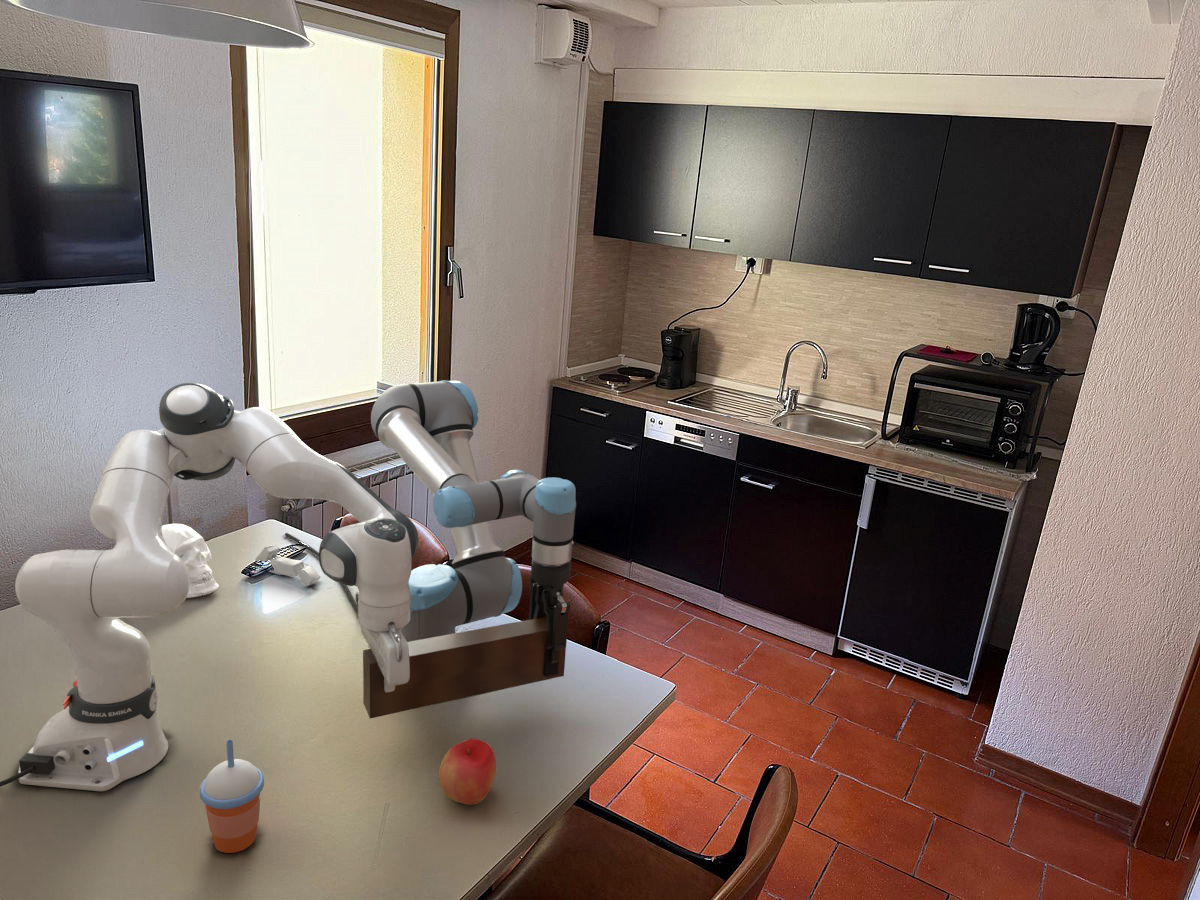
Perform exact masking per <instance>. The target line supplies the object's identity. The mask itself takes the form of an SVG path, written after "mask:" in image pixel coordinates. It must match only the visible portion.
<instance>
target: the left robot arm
mask: <svg viewBox="0 0 1200 900" xmlns="http://www.w3.org/2000/svg"><path fill="white" fill-rule="evenodd" d="M158 414H159V420H160V423H161V425H162V428H160V429H158V430H150V429H135V430H130V431H129V432H127V433H126V434H124V435H123V436H122V437H121V438H120V439H119V441H118V442H117V444H116V446H115V447H114V448H113V450H112V452H111V454H110V456H109V458H108V460H107V462H106V465H105V466H104V469H103V471H102V474H101V478H100V479H99V482H98V486H97V489H96V491H95V494H94V498H93V500H92V504H91V507H90V509H89V518H90V522H91V524H92V526H93V528H94V529H95V530H96V531H97V532H98V533H100V534H101V535H102V536H103V537H105V538H106V539H108V540H111V541H113V542H115V545H114V546H113V547H112V548H111V549H60V550H53V551H48V552H42V553H37V554H34V555H32V556H30V557H29V558H28V559H27V560H26V561H25V562H24V563H23V564H22V566H21V567H20V569H19V570H18V572H17V575H16V577H15V584H14V589H15V595H16V598H17V601H18V602H19V604H20V605H21V607H22V608H23V609H24V610H25V611H26V612H28V613H29V614H32V615H34V616H36V617H38V618H39V619H40V620H42V621H43V622H45V623H46V624H47V625H49V626H50V627H51V628H52V629H53V631H54V632H56V633H57V634H58V636H59V637H60V638H61V640H62V641H63V642H64V644H65V645H66V647H67V649H68V651H69V653H70V655H71V658H72V659H71V660H72V662H73V667H74V672H75V673H74V674H75V680H74V681H73V683H72V688H71V689H70V690H69V691H68V692H67V694H66V695H67V696H66V698H65V699H64V701H63V703H62V706H63V708H62V709H61V710H60V711H58V712H56V713H55V714H54V715H52V716H51V717H50V718H49V719H48V720H47V722H46V723H45V724H44V725H43V726H42V728H41V729H40V730H39V732H38V734H37V736H36V738H35V740H34V744H33V745H32V747H31V748H30V750H28V751H27V752H26V753H25V754H24V755H23V756H22V757H21V758H20V759H19V761H18V763H19V768H18V771H17V773H16V774H15V775H12V776H10V777H8V778H6V779H3V780H1V781H0V787H3V786H7V785H9V784H11V783H12V782H15V781H17V780H18V782H19V784H21V785H28V786H38V787H49V788H60V789H68V790H69V789H70V790H80V791H92V792H107V791H109V790H111V789H112V788H115V787H116V786H118V785H119V784H121V783H122V782H124V781H127V780H130V779H132V778H135V777H136V776H139V775H142V774H144V773H145V772H147V771H150V770H151V769H152V768H153V767H155V766H156V765H158V764H159V763H160V762H161V761H162V760H163V759H164V758H165V756H166V754H167V752H168V750H169V741H168V739H167V738H166V736H165V734H164V731H163V728H162V725H161V722H160V719H159V714H158V712H157V708H158V690H157V686H156V680H155V676H154V675H153V674H152V664H151V654H150V653H151V652H150V644H149V641H148V639H147V637H146V636H145V635H144V633H143V632H142V631H140V630H139V629H138V628H136V627H134V626H132V625H130V624H128V623H126V622H124V621H123V620H122V619H120V618H148V617H154V616H155V617H156V616H160V615H161V616H162V615H165V614H170V613H174V612H175V611H177V610H178V609H179V608H180V607H181V606H182V605H183V604H184V602H185V601H186V599H187V598H186V597H187V595H188V592H189V589H190V574H189V570H188V568H187V566H186V564H185V563H184V561H183V560H182V559H181V558H180V557H179V556H177V555H176V554H175V553H173V552H172V551H171V550H170V549H169V547H168V546H167V544H166V543H165V541H164V538H163V534H162V526H163V521H164V520H163V519H164V515H165V510H166V506H167V502H168V498H169V494H170V491H171V487H172V482H173V480H174V477H176V478H178V479H180V480H182V481H190V480H193V481H212V480H216V479H219V478H221V477H224V476H225V475H227V474H228V473H229V472H230V471H231V470H232V469H233V467H234V465H235V463H236V460H237V461H238V462H239V463H240V464H241V465H242V466H243V468H244V469H245V470H246V471H247V473H248V474H249V475H250V477H251V478H252V480H253V481H254V482H255V483H256V484H257V486H259V488H261V489H262V490H263V491H264V492H266V493H267V494H268V495H271V496H273V497H276V498H279V499H287V500H294V499H297V500H298V499H312V500H313V499H316V500H324V501H330V502H333V503H336V504H337V505H340V506H341V507H342V508H343V509H344V510H346V511H347V512H348V513H349V514H350V515H351V516H352V517H354V518H355V519H356V520H357V521H358V522H356V523H352V524H349V525H346V526H342V527H339V528H336V529H333V530H331V531H330V532H327V533H326V534H324V536H323V537H322V539H321V541H320V544H319V549H318V553H319V557H318V562H319V566H320V569H321V572H322V573H323V574H324V575H325V576H327V578H329V579H330V580H332V581H334V582H337V583H339V584H341V585H342V584H344V585H347V587H354V586H355V587H356V588H357V589H358V590H356V591H355V602H356V604H357V606H358V614H357V617H358V618H357V619H358V621H357V622H358V624H359V625H360V630H361V634H362V636H363V637H364V639H365V641H366V643H367V646H368V649H371V650H372V652H373V654H374V656H375V658H376V660H377V662H378V666H379V668H380V670H381V672H382V674H383V676H384V680H383V688H384V690H385V692H392V691H394V690H395V686H396V685H401V684H405V683H407V682H408V681H409V678H410V664H409V649H408V644H407V641H406V639H405V637H404V635H403V634H402V632H401V630H402V629H403V627H404V626H406V625H407V624H408V623H409V621H410V615H411V591H410V587H409V579H410V576H411V571H412V561H413V559H414V557H415V555H416V553H417V550H418V546H419V539H420V537H419V531H418V529H417V526H416V525H415V524H414V522H413V521H412V519H410V518H409V517H408V516H407V515H406V514H404V513H403V512H401V511H400V510H398V509H396V508H394V507H393V506H391V505H389V504H388V502H386V501H385V500H383V499H382V498H381V497H380V496H379V495H378V494H377V493H376V492H374V491H373V490H372V489H371V488H370V487H369V486H368V485H366V484H365V483H364V482H363V481H362V480H361V479H360V478H359V477H358V476H356V475H355V474H354V473H353V472H351V471H350V469H348V468H346V467H345V466H344V465H342V464H341V463H339V462H336V461H335V460H332V459H329V458H327V457H325V456H323V455H321V454H319V453H318V452H316V451H315V450H314V449H313V448H310V447H309V446H308V445H307V444H306V443H305V442H304V441H303V440H302V439H300V437H299V436H298V435H297V434H296V433H295V432H294V431H293V429H291V427H290V426H289V425H287V423H286V422H284V421H283V420H282V418H280V417H278V415H276V414H275V413H273V412H272V411H270V410H269V409H267V408H264V407H259V406H253V407H248V408H245V409H243V410H235V405H234V402H233V400H232V399H231V398H229V397H228V396H224V395H222V394H219V393H218V392H217V391H215V390H214V389H213V388H211V387H209V386H207V385H205V384H201V383H197V382H184V383H179V384H176V385H174V386H172V387H170V388H169V389H168V390H167V391H165V392H164V393H163V395H162V396H161V398H160V401H159V404H158Z"/></svg>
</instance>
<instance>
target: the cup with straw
mask: <svg viewBox="0 0 1200 900" xmlns="http://www.w3.org/2000/svg"><path fill="white" fill-rule="evenodd" d="M226 757H227V760H225V761H222V762H220V763H218V764H217V765H215V766H214V767H213V768H212V769H211V770H210V771H209V773H208V774H207V776H206V777H204V779H203V781H202V782H201V784H200V786H199V787H200V788H199V797H200V800H201V801H202V802H203V804H204V807H205V812H206V813H205V814H206V818H207V823H208V828H209V831H210V833H211V836H212V841H213V845H214V847H215V849H216V850H217V851H219V852H221V853H225V854H235V853H239V852H242V851H244V850H246V849H247V848H249V847H250V846H251V845H252V844H253V843H254V842H255V841H256V838H257V834H258V823H259V819H260V809H261V792H262V791H263V789H264V786H265V777H264V775H263V772H262V771H261V770H260V769H259V768H258V767H256V766H255V765H254V764H253V763H252V762H250V761H248V760H245V759H243V758H242V759H241V758H235V755H234V741H233V739H228V740H226Z"/></svg>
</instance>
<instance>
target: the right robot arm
mask: <svg viewBox="0 0 1200 900" xmlns="http://www.w3.org/2000/svg"><path fill="white" fill-rule="evenodd" d="M477 402H478V401H477V400H476V397H475V395H474V393H473V392H472V390H471V389H470V387H468V385H467V384H464V383H463V382H462V381H459V380H443V379H442V380H439V381H430V382H428V381H427V382H415V383H402V384H401V383H400V384H395V385H393V386H391V387H389V388H387V389H385V390H384V391H382V392H381V394H379V396H378V397H377V399H375V401H374V403H373V405H372V409H371V413H370V423H371V424H370V425H371V428H372V431H373V433H374V435H375V437H376V438H377V439H378V440H379V441H380V443H381V444H382V445H383V446H384V447H386V448H389V449H392V450H394V452H395V453H396V454H397V455H398V456H399V457H400V458H401V460H403V462H404V463H405V464H406V465H407V466H408V468H409V469H410V470H411V471H412V472H413V473H414V474H415V476H416V477H417V478H418V479H419V481H420V482H421V483H422V484H423V485H424V486H425V487H426V488H427V489H428V491H429V492H430V493H431V495H433V502H432V503H433V504H432V506H433V513H434V515H435V516H436V520H437V522H438V523H439V525H441V526H442V527H443V528H446V529H449V528H450V532H451V537H452V541H453V545H454V549H455V556H454V558H453V560H452V562H451V566H450V565H447V564H442V563H439V564H437V565H436V564H435V563H430V564H424V565H421V566H418V567H416V568H413V569H411V576H410V579H409V587H410V591H411V615H410V621H409V623H408V624H407V625H406V626H404V627H403V629H402V630H401V632H402V634H403V635H404V637H405V639H406V641H407V642H410V641H416V640H421V639H427V638H432V637H438V636H443V635H449V634H454V633H456V627H459V626H463V625H466V624H467V625H468V624H471V623H475V622H478V621H482V620H486V619H490V618H494V617H495V618H496V617H499V616H501V615H504V614H506V613H511V612H513V610H515V609H516V607H517V606H518V605H519V603H520V600H521V597H522V593H523V578H522V573H521V569H520V567H519V565H518V564H517V562H516V561H515V560H514V559H512V558H510V557H506V555H505V551H504V548H501V547H500V546H498V545H497V544H496V542H495V540H494V535H493V532H492V527H491V523H490V522H491V521H497V520H503V519H508V518H514V517H518V516H523V517H524V518H526V519H527V520H528V521H531V522H532V523H533V528H532V529H533V531H532V540H531V541H532V542H531V543H532V544H531V558H532V559H531V564H530V565H531V567H530V577H529V586H530V588H529V590H530V591H529V602H528V603H529V604H528V606H529V607H528V620H531V619H536V618H542V617H547V636H548V645H544V646H545V661H544V676H545V677H548V676H552V675H557V674H558V664H559V650H560V649H562V648H566V649H567V640H568V627H569V614H570V613H569V612H570V610H571V603H570V601H565V600H564V586H565V584H566V583H568V582H569V581H570V579H571V572H572V571H571V570H572V561H571V560H572V553H573V545H574V543H575V542H574V541H573V540H574V539H573V538H574V529H575V516H576V509H577V501H576V494H577V493H576V489H577V488H576V486H575V484H574V483H573V482H572V481H571V480H568V479H563V478H561V477H545V478H541V479H539V478H537V477H536V476H535V475H533V474H531V473H528V472H526V471H523V470H521V469H510V470H507V472H505V473H504V474H503V475H501V476H500V478H498V479H494V480H486V481H479V480H480V479H479V477H478V472H477V469H476V465H475V460H474V457H473V452H472V448H471V445H470V440H471V439H472V437H473V436H474V428H475V427H476V426H477V424H478V422H479V416H478V414H479V407H478V403H477ZM284 536H285V537H287V538H289V539H290V540H292V541H294V542H295V543H297V544H299V545H300V544H301V546H302V545H303V546H302V547H304V546H305V547H306V548H305V547H304V548H305V549H307V550H308V551H309V552H311V553H312V554H314V555H315V556H316V557H318V558H319V551H317V550H316V549H315V548H313V547H311V546H310V545H308V546H309V547H307V546H306V545H304V544H302V543H301V542H299V541H301V540H300V538H297V537H295V536H293V535H292V534H290V533H288V532H285V533H284ZM302 542H303V543H305V542H304V541H302ZM341 586H342V588H343V589H344V591H345V593H346V595H347V597H348V599H349V601H350V602H351V605H352V606H353V609H354V610H355V612H356V614H357V615H358V606H357V603H356V599H355V598H354V597H353V594H352V592H351V591H350V589H349V586H348V585H344V584H341Z"/></svg>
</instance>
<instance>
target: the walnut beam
mask: <svg viewBox="0 0 1200 900" xmlns="http://www.w3.org/2000/svg"><path fill="white" fill-rule="evenodd" d="M407 644H408V649H409V664H410V678H409V681H408V682H407V683H405V684H401V685H396V686H395V690H394V691H392V692H385V690H384V688H383V680H384V676H383V674H382V672H381V670H380V668H379V666H378V662H377V660H376V658H375V656H374V654H373V652H372V650H371V649H370V648H366V649H363V650H362V693H363V694H362V695H363V696H362V698H363V700H362V703H363V706H364V708H365V711H366V713H367V715H368V717H369V719H375V718H376V719H377V718H379V717H384V716H387V715H388V716H390V715H395V714H397V713H402V712H403V713H404V712H407V711H412V710H416V709H420V708H421V709H422V708H425V707H429V706H434V705H439V704H443V703H449V702H452V701H456V700H461V699H465V698H470V697H475V696H480V695H484V694H489V693H492V692H493V693H494V692H498V691H502V690H507V689H511V688H516V687H521V686H525V685H530V684H533V683H539V682H542V681H548V680H552V679H557V678H561V677H564V676H565V668H566V653H567V647H566V648H562V649H560V650H559V664H558V674H557V675H552V676H548V677H545V676H544V661H545V646H544V645H548V636H547V617H542V618H536V619H531V620H529V619H526V620H520V621H515V622H509V623H504V624H499V625H493V626H487V627H482V628H477V629H472V630H465V631H460V632H455V633H454V634H449V635H443V636H438V637H432V638H427V639H421V640H416V641H410V642H407Z"/></svg>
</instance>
